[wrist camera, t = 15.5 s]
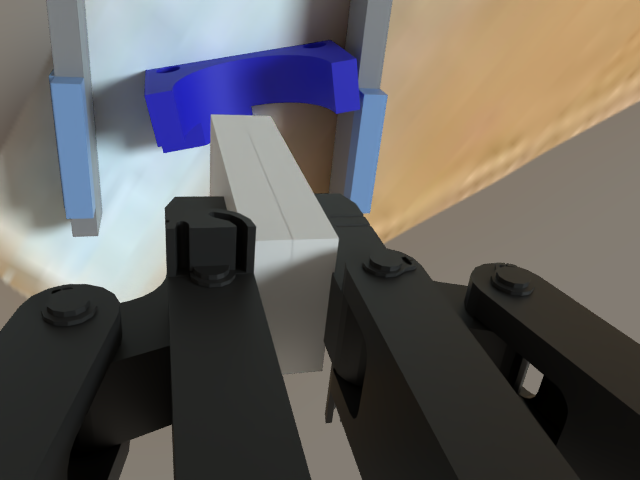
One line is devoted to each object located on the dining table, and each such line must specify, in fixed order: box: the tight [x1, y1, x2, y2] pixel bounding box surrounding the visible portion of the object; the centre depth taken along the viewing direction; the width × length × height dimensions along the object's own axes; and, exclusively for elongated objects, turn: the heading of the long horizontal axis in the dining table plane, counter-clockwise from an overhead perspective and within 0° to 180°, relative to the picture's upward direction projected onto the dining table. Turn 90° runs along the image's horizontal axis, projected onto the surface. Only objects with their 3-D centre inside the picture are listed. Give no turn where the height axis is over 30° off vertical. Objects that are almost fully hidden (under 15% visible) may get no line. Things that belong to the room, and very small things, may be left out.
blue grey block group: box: [46, 0, 392, 237], centre depth 35 cm, size 23×19×5 cm
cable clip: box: [144, 40, 360, 153], centre depth 36 cm, size 12×4×6 cm, turn 96°
